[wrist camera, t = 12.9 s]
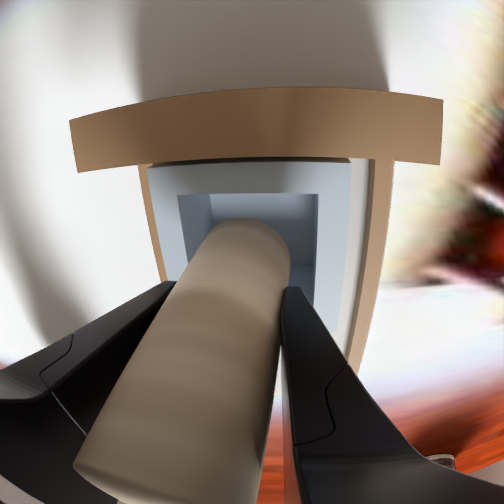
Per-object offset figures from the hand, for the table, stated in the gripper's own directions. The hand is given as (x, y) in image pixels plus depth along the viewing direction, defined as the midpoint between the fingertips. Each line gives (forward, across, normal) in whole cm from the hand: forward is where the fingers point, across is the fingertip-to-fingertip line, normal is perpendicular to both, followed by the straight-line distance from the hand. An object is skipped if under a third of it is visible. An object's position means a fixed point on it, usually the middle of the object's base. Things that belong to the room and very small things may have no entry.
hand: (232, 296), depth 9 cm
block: (+7, 0, 0) cm, 7 cm away
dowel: (+2, 0, 0) cm, 2 cm away
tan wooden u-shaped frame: (+8, 0, +4) cm, 9 cm away
